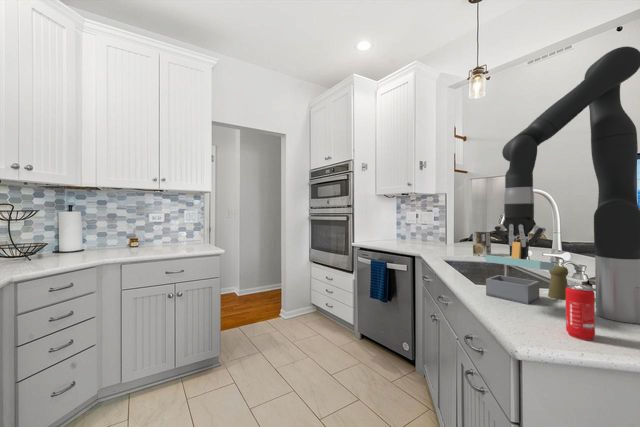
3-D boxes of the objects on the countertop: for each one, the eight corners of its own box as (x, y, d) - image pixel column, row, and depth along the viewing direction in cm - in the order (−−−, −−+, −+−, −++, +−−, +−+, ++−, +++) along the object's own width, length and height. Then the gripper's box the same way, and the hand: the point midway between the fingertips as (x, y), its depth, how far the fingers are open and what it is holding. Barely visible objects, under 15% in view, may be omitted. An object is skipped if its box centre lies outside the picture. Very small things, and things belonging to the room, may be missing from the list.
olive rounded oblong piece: (574, 300, 95) (574, 268, 95) (554, 299, 97) (553, 267, 97) (563, 295, 101) (562, 264, 101) (544, 294, 103) (543, 264, 102)
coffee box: (491, 256, 188) (491, 231, 188) (486, 257, 184) (486, 232, 184) (477, 254, 196) (477, 231, 195) (472, 255, 192) (472, 231, 192)
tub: (539, 298, 98) (539, 281, 98) (528, 304, 92) (527, 286, 92) (498, 290, 108) (498, 274, 108) (486, 295, 103) (485, 278, 103)
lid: (554, 270, 84) (555, 246, 85) (540, 269, 78) (541, 243, 79) (501, 263, 96) (502, 242, 97) (485, 261, 90) (487, 239, 90)
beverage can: (572, 339, 67) (571, 289, 67) (562, 330, 72) (561, 283, 72) (600, 342, 65) (599, 291, 65) (588, 333, 70) (587, 285, 70)
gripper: (550, 202, 83) (550, 260, 84) (499, 203, 95) (499, 254, 95) (541, 201, 79) (541, 263, 79) (489, 203, 90) (489, 256, 91)
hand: (518, 258), depth 87 cm, fingers closed on lid
